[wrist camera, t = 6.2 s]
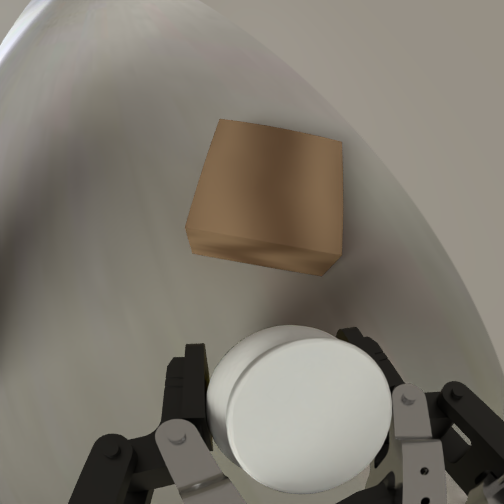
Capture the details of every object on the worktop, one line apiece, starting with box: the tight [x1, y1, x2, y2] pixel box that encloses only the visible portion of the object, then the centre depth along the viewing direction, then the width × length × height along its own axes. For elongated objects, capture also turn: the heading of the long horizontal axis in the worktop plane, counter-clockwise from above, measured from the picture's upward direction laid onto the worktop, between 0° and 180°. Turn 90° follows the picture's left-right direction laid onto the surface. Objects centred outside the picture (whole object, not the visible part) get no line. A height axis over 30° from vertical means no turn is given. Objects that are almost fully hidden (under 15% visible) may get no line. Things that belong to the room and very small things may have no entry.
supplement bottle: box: [206, 325, 392, 494], centre depth 10 cm, size 5×5×10 cm
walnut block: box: [185, 119, 343, 276], centre depth 20 cm, size 9×9×4 cm
